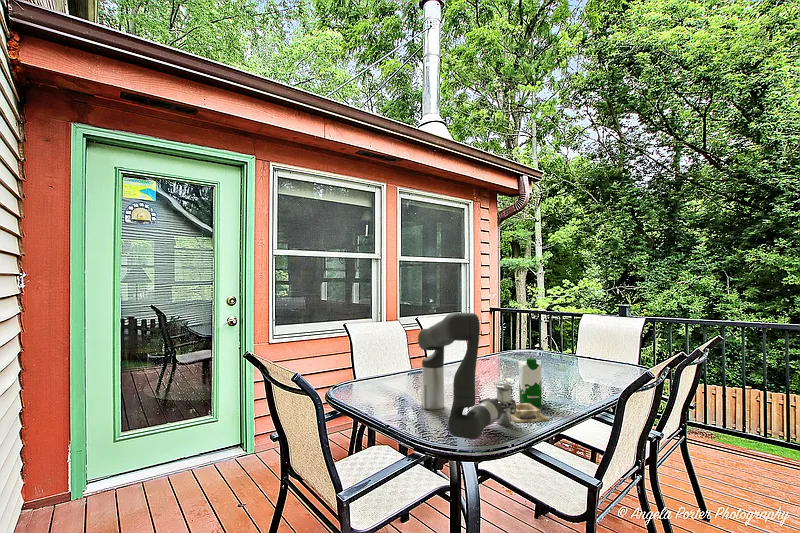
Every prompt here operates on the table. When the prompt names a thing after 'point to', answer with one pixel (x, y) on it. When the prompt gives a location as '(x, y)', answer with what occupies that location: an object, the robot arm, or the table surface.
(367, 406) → the table surface
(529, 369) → the milk carton
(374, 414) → the table surface
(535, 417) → the socket mount
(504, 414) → the metal canister
